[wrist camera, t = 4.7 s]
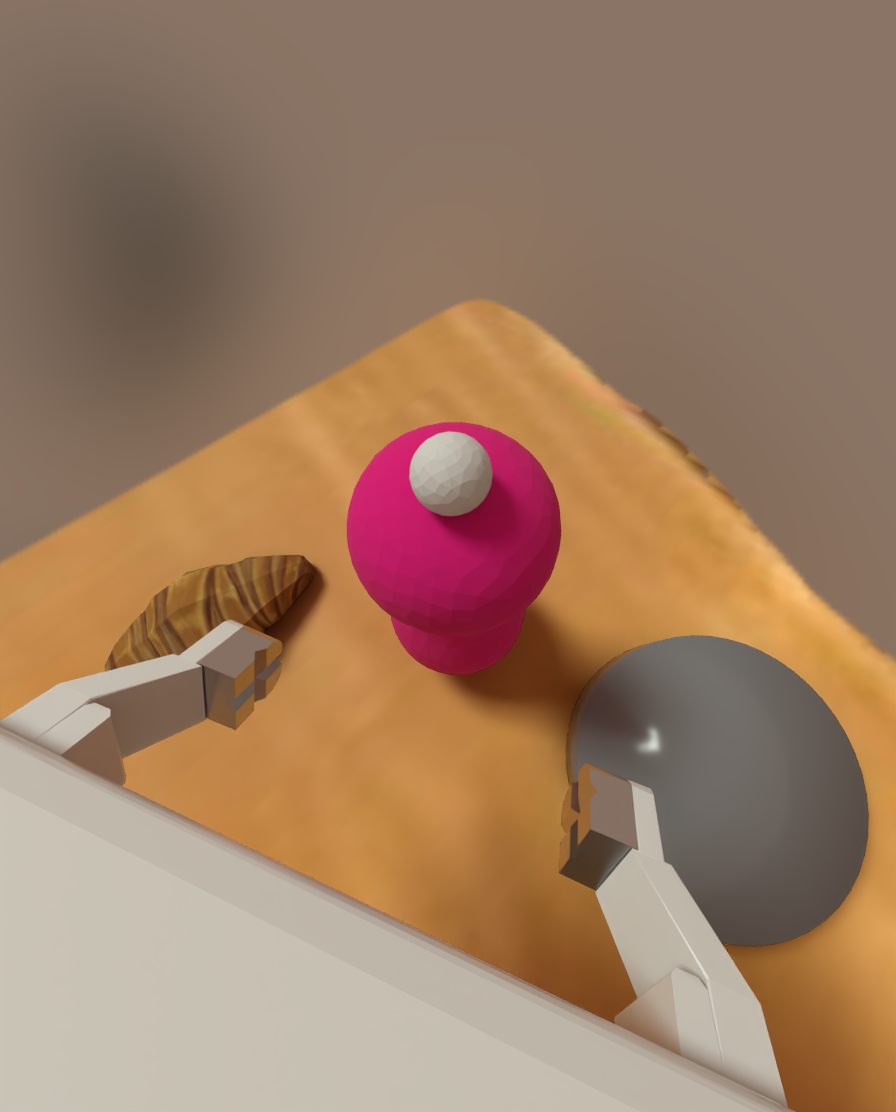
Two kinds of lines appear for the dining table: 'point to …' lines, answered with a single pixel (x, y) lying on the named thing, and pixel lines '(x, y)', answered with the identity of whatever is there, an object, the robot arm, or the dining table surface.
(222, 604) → the croissant
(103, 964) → the robot arm
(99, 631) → the dining table surface
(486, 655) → the pepper mill
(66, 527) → the dining table surface
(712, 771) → the smooth gray stone
